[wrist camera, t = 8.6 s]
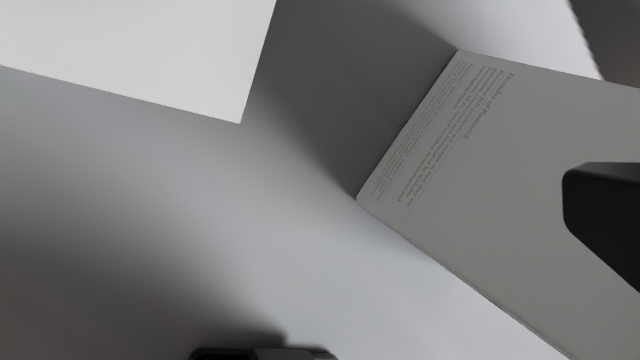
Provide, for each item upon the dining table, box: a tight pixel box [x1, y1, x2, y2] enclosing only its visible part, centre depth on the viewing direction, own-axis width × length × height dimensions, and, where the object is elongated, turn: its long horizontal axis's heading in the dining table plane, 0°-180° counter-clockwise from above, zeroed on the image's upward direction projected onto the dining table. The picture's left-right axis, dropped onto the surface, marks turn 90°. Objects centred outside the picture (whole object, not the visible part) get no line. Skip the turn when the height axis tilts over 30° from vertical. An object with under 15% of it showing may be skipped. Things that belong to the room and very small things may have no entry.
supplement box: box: [356, 50, 640, 360], centre depth 20 cm, size 7×7×13 cm
